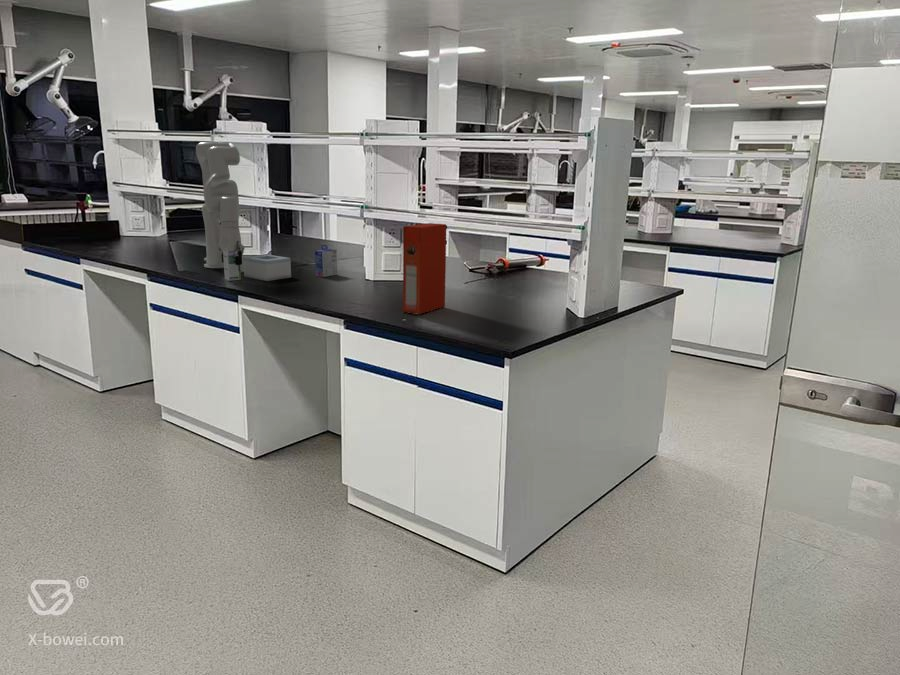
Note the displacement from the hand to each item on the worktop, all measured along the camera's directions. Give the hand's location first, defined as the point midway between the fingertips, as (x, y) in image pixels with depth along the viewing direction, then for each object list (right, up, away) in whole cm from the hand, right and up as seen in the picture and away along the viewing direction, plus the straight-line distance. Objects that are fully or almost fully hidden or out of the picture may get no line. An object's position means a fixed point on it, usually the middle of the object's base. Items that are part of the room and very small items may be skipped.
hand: (231, 263), depth 307 cm
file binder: (+88, -23, -47) cm, 103 cm away
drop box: (+13, -5, +10) cm, 18 cm away
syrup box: (0, -7, +2) cm, 7 cm away
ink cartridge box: (+39, -4, +19) cm, 44 cm away
